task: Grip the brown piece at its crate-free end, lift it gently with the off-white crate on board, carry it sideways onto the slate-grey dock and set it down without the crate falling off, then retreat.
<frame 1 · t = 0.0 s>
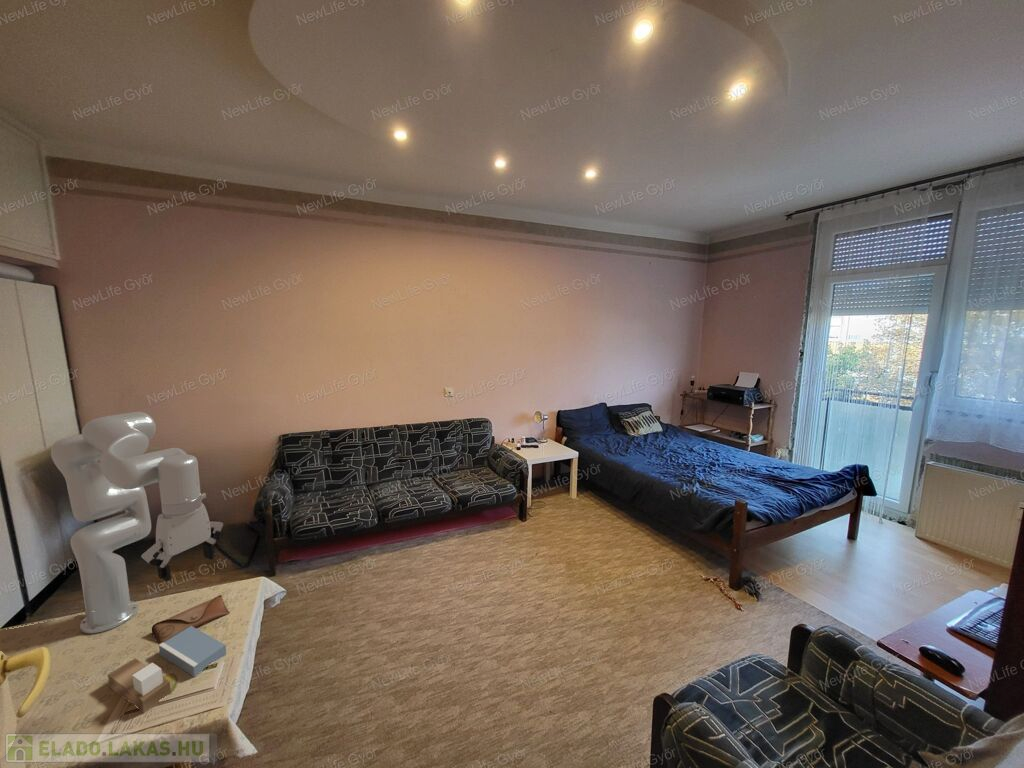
hand: (188, 567, 101), 31 cm above the table, fingers open, 9 cm apart
sunglasses case: (193, 624, 123), on the table
crate: (148, 685, 98), point 4 cm above the table, touching brown piece
brown piece: (140, 691, 101), on the table, touching crate
dock: (193, 654, 112), on the table
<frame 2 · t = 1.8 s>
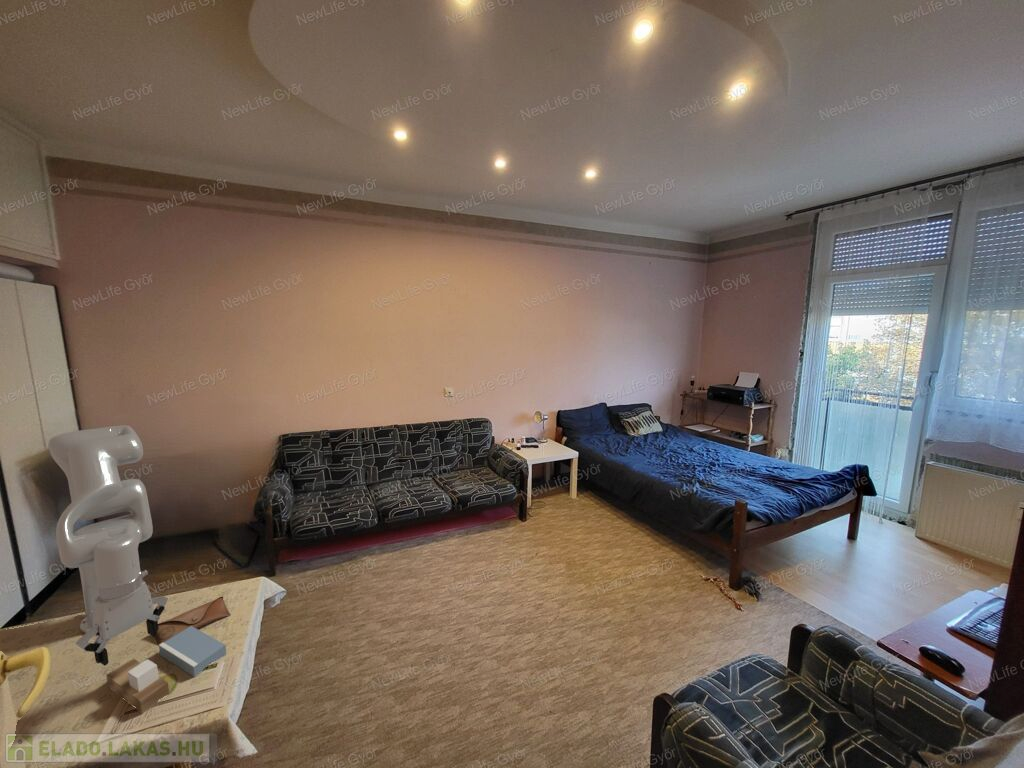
hand: (129, 648, 100), 11 cm above the table, fingers open, 9 cm apart
crate: (144, 682, 99), point 4 cm above the table, touching brown piece
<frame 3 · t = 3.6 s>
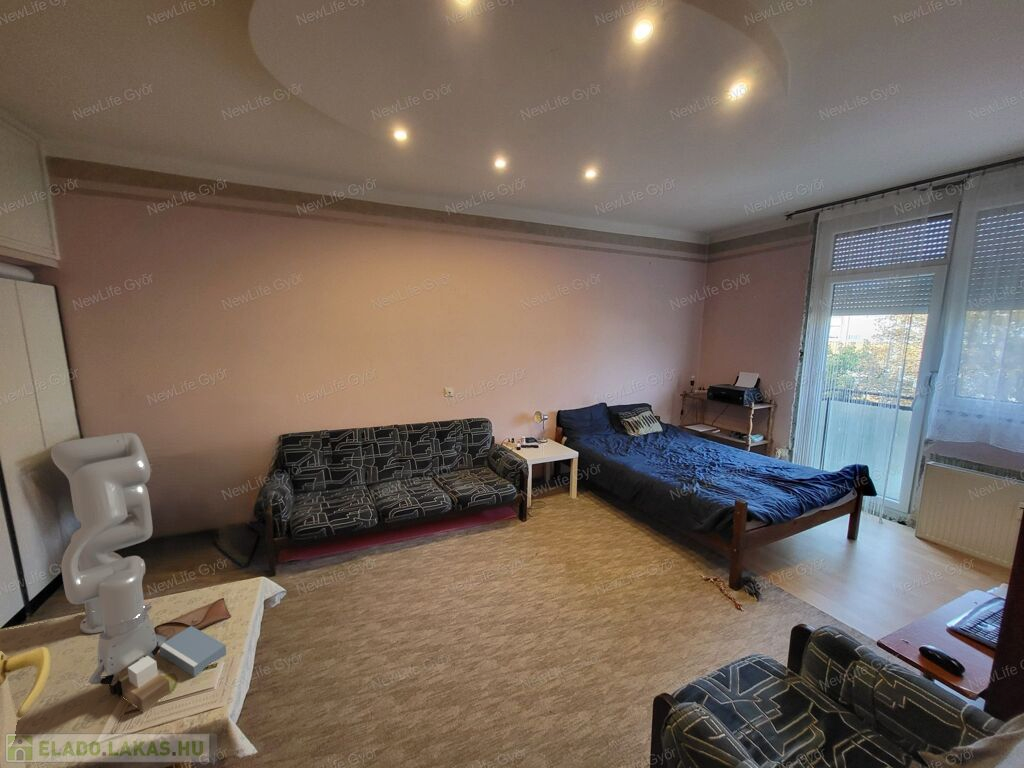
hand: (133, 683, 101), 1 cm above the table, fingers closed on brown piece, 5 cm apart
crate: (143, 678, 100), point 4 cm above the table, touching brown piece
brown piece: (139, 690, 101), on the table, touching crate, gripper
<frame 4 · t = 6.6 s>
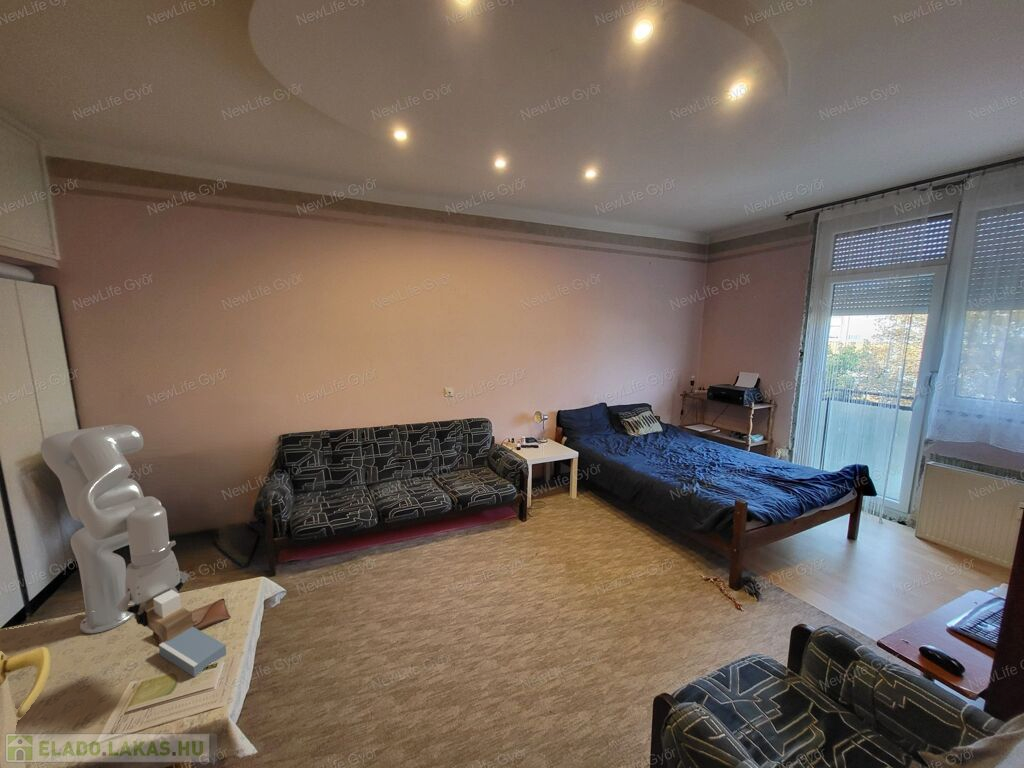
hand: (157, 615, 105), 15 cm above the table, fingers closed on brown piece, 5 cm apart
crate: (168, 610, 103), point 18 cm above the table, touching brown piece
brown piece: (163, 622, 104), point 14 cm above the table, touching crate, gripper
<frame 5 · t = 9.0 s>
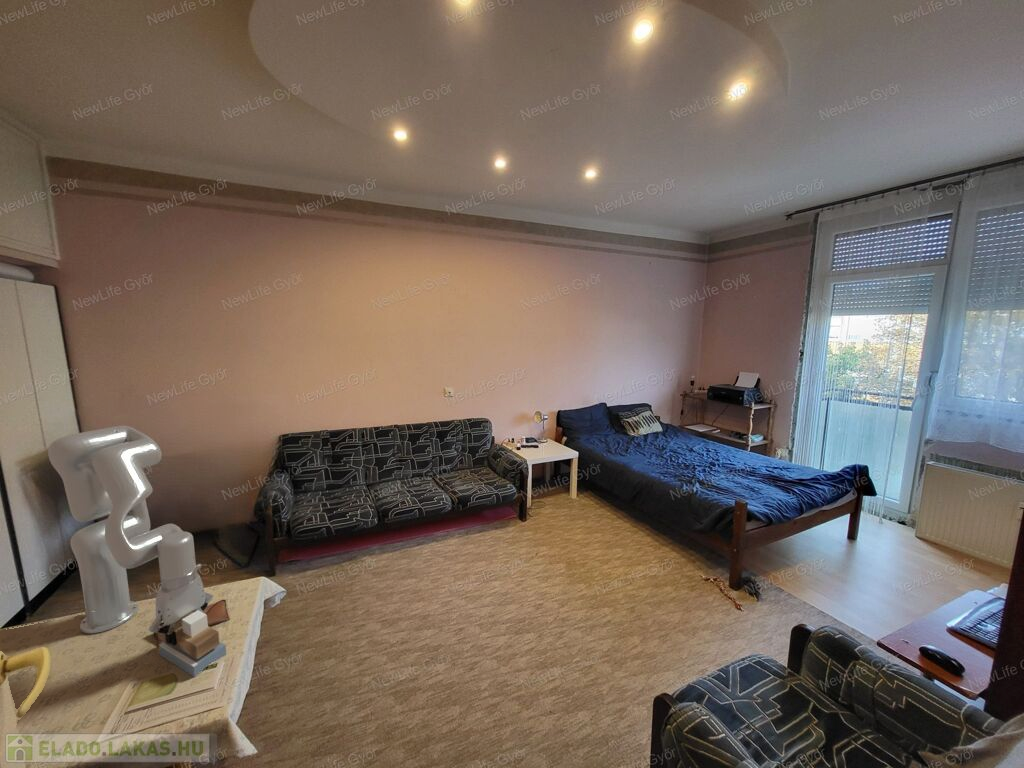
hand: (184, 634, 112), 5 cm above the table, fingers closed on brown piece, 5 cm apart
crate: (195, 629, 110), point 8 cm above the table, touching brown piece
brown piece: (190, 641, 111), point 4 cm above the table, touching crate, gripper
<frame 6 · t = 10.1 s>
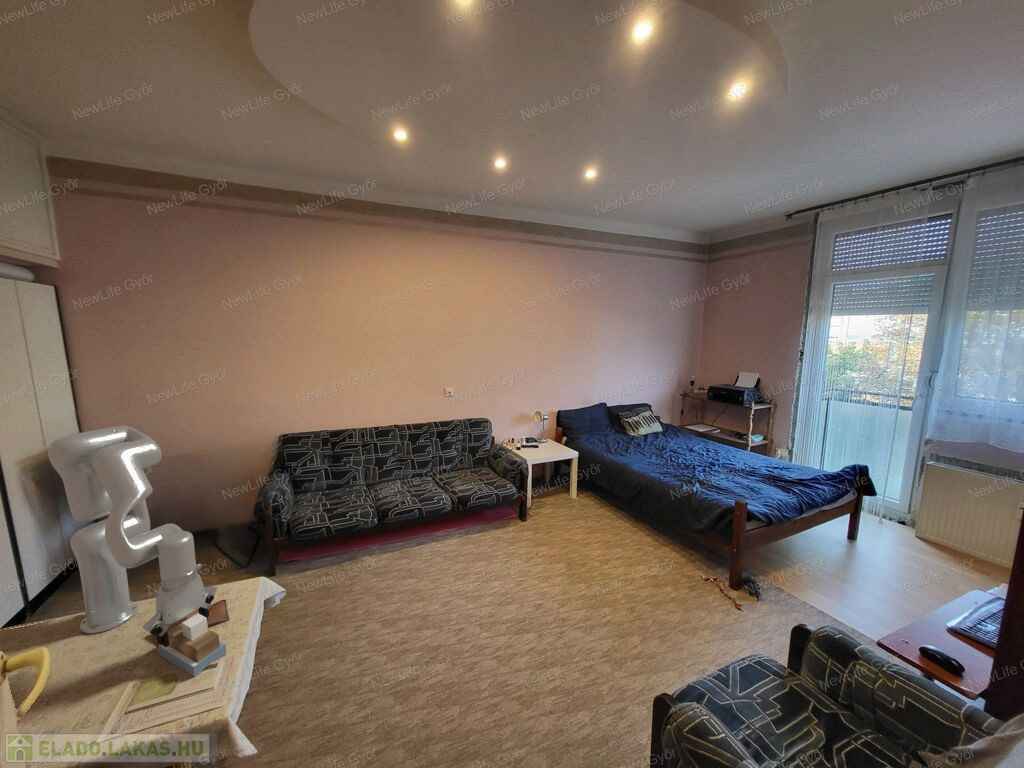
hand: (185, 632, 112), 6 cm above the table, fingers open, 9 cm apart
crate: (195, 633, 110), point 7 cm above the table, touching brown piece
brown piece: (191, 644, 111), point 3 cm above the table, touching crate, dock
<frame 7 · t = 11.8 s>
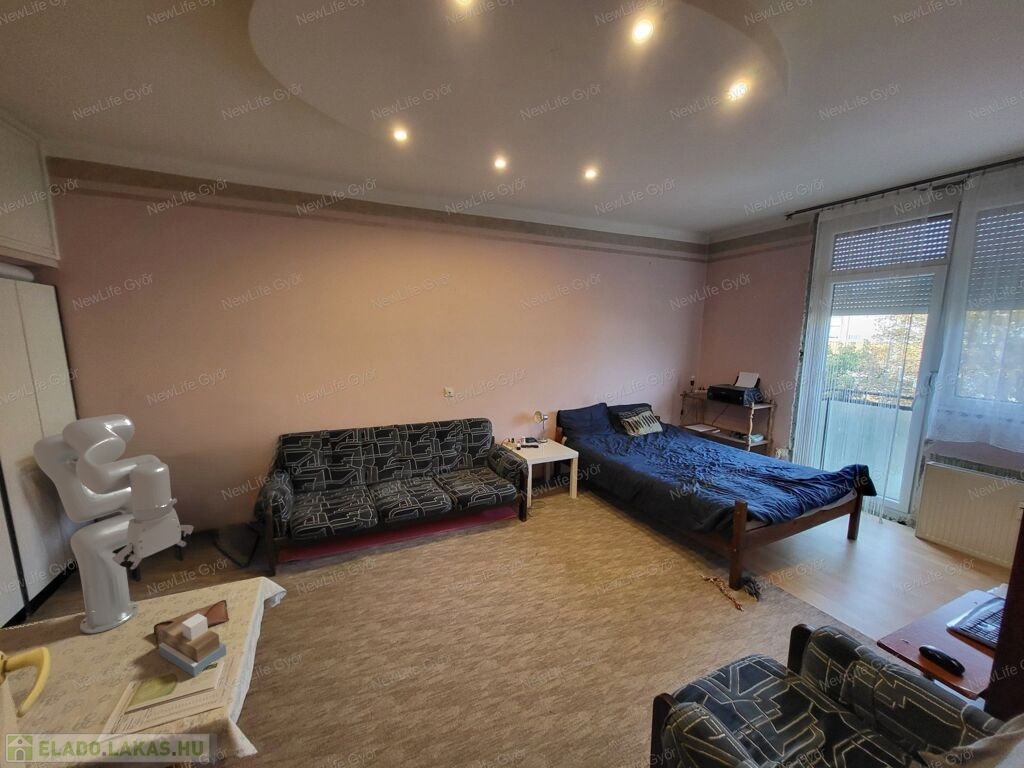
hand: (158, 569, 106), 27 cm above the table, fingers open, 9 cm apart
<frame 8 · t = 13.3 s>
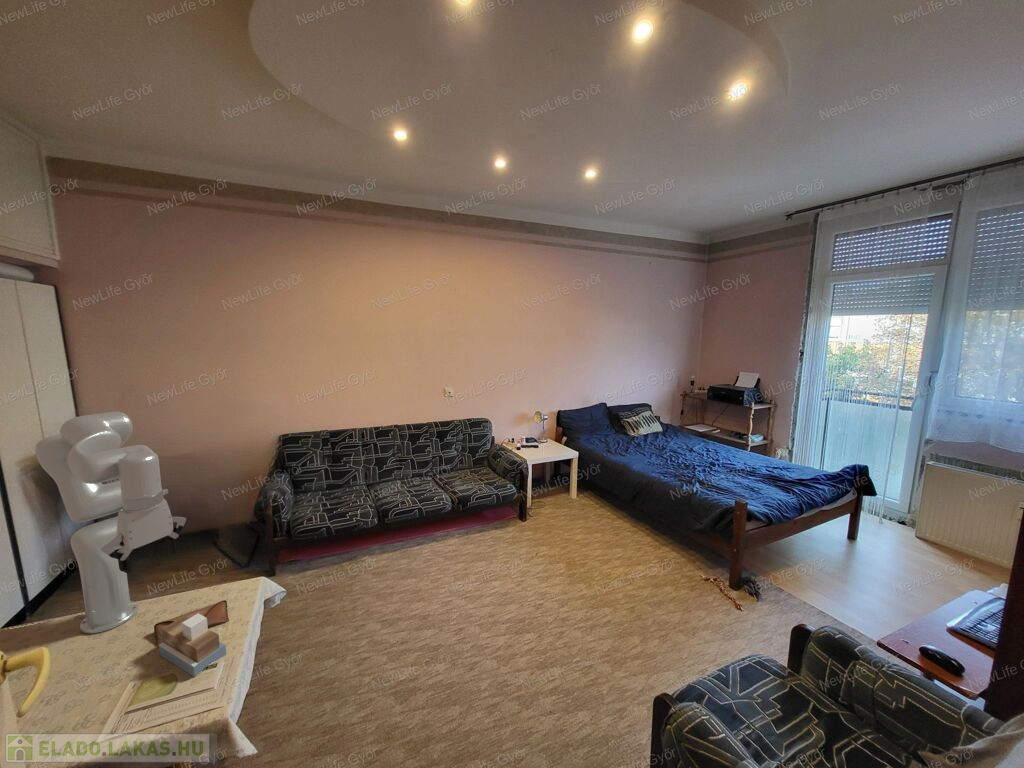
hand: (150, 561, 104), 30 cm above the table, fingers open, 9 cm apart
sunglasses case: (193, 628, 121), on the table, touching dock
everything else where it was.
at the end: brown piece 0.6 cm off-centre on the dock, point 3.0 cm above the dock's base; crate inside the target area on the brown piece (1.6 cm from its centre), point 4.0 cm above the brown piece's base; the gripper is holding nothing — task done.
